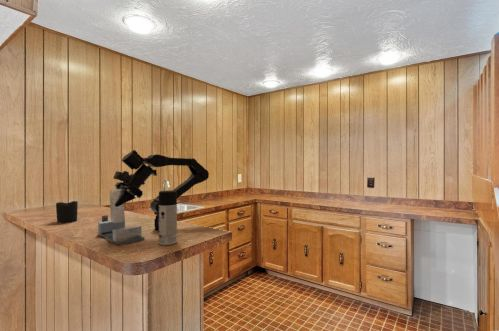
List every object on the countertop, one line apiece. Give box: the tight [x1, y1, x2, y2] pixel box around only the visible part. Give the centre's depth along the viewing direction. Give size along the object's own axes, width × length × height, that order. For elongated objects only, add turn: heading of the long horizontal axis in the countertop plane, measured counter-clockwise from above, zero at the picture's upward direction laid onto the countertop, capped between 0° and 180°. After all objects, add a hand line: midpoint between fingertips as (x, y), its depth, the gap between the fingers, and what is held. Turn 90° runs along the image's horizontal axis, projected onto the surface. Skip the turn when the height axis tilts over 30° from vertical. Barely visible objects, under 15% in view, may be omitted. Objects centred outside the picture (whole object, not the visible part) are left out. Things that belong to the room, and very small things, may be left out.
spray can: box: [158, 190, 178, 247], centre depth 102 cm, size 7×7×20 cm
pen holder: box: [55, 200, 79, 224], centre depth 140 cm, size 9×9×10 cm
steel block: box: [109, 189, 126, 223], centre depth 110 cm, size 4×5×13 cm
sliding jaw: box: [97, 214, 126, 233], centre depth 119 cm, size 11×10×5 cm
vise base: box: [97, 224, 145, 247], centre depth 110 cm, size 22×10×5 cm, turn 47°
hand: (113, 205), depth 109 cm, fingers closed on steel block, 5 cm apart
